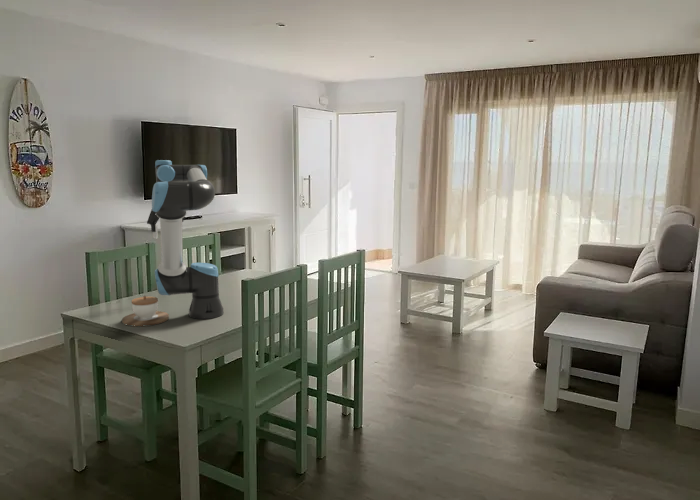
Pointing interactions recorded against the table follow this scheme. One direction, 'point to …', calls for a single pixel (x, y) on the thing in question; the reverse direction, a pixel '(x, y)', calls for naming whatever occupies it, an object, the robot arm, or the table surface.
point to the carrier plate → (157, 319)
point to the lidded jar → (145, 307)
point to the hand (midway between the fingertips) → (167, 236)
